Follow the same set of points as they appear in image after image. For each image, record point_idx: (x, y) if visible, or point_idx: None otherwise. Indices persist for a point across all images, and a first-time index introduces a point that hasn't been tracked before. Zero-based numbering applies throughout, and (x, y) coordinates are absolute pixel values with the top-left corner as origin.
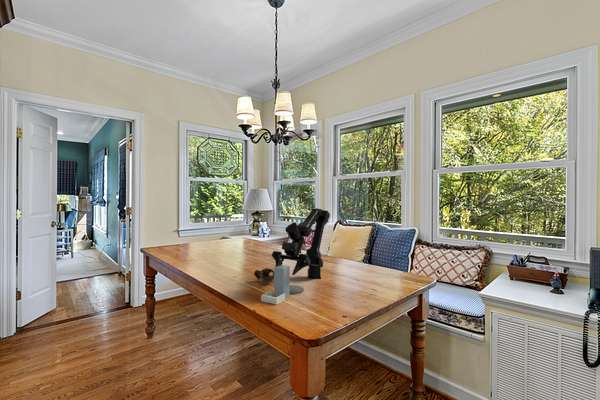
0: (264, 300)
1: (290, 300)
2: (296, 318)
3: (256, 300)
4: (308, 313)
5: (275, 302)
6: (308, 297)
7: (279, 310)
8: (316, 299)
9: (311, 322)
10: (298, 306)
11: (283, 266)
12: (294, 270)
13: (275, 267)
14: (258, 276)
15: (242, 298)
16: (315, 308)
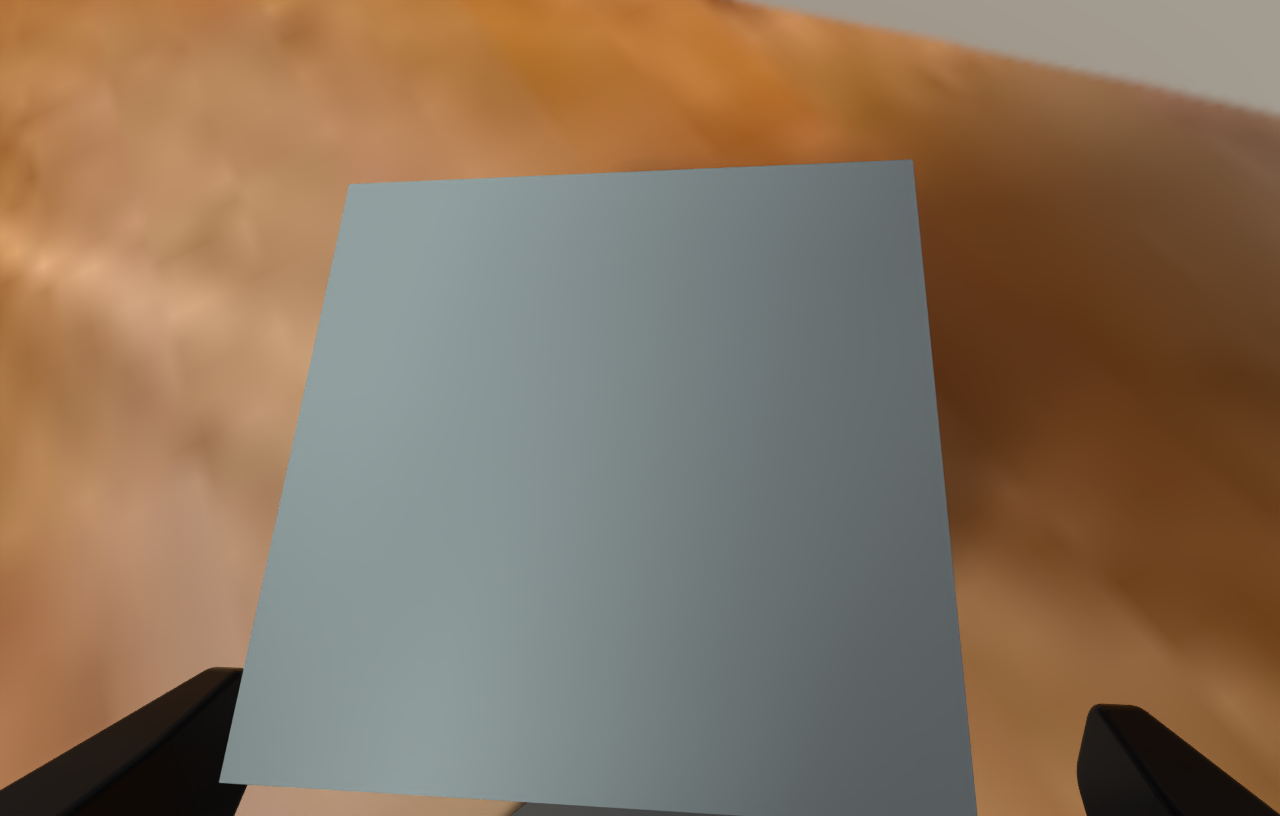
0: None
1: None
2: (186, 60)
3: (943, 232)
4: (84, 214)
5: None
6: None
7: (439, 123)
8: (34, 743)
9: (26, 62)
10: (251, 334)
11: (551, 547)
12: (70, 764)
13: (831, 164)
14: None
15: (1218, 191)
16: (17, 382)
